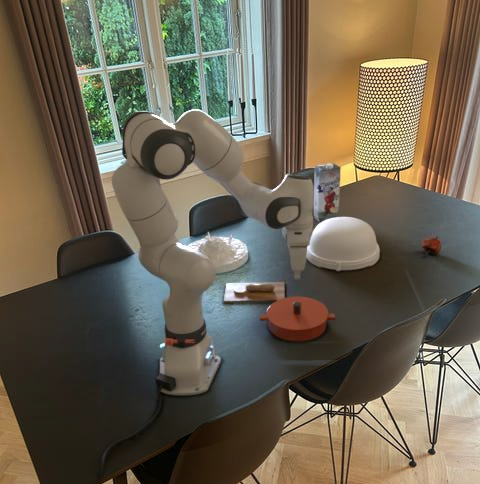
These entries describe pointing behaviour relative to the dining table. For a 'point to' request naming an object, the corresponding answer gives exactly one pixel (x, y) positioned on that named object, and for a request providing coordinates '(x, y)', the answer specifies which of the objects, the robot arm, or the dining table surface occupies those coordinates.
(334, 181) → the juice carton
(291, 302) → the lid
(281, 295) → the board
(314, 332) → the pan
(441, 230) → the dining table surface
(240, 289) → the spoon
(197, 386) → the robot arm
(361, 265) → the dome cover
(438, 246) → the pomegranate
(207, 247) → the cake
